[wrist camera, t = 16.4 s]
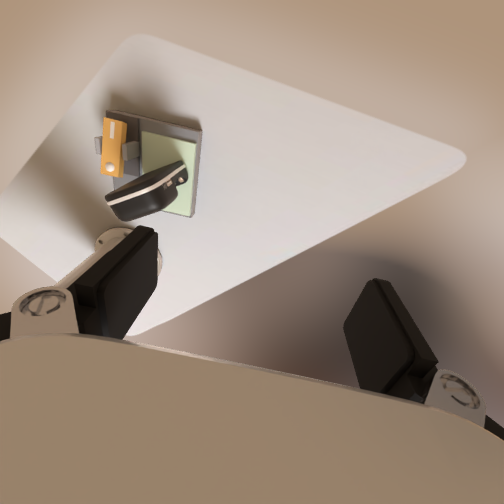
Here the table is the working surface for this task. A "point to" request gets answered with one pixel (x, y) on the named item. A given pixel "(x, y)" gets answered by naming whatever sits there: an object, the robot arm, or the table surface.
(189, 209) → the grey holder stand
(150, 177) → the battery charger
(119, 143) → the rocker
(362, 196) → the table surface
